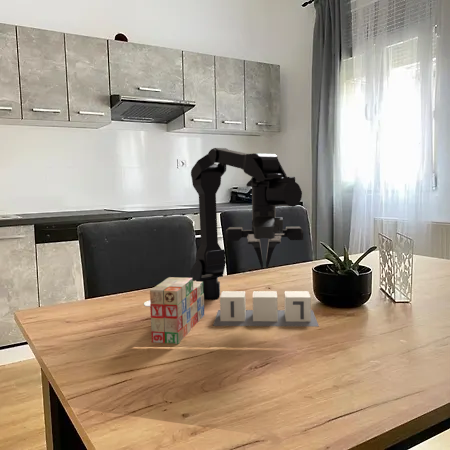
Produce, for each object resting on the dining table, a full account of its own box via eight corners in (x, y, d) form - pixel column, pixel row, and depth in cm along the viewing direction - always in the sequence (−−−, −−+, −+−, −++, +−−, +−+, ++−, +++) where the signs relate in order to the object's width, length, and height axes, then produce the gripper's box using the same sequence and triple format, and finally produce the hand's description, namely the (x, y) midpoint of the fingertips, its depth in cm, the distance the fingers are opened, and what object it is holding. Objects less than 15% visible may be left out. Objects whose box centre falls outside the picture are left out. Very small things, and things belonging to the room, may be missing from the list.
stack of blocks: (181, 315, 118) (180, 269, 117) (204, 316, 117) (203, 269, 115) (151, 344, 97) (149, 289, 96) (178, 346, 96) (177, 290, 95)
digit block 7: (285, 321, 109) (285, 297, 109) (284, 314, 115) (284, 291, 115) (310, 321, 109) (310, 297, 108) (308, 314, 115) (308, 291, 114)
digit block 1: (220, 321, 111) (219, 297, 110) (222, 313, 117) (222, 291, 116) (244, 321, 110) (244, 297, 110) (245, 313, 116) (245, 291, 116)
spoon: (181, 292, 143) (180, 290, 143) (156, 308, 126) (156, 306, 126) (165, 291, 145) (165, 289, 145) (139, 306, 128) (139, 305, 127)
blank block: (253, 321, 110) (252, 297, 110) (253, 313, 116) (253, 291, 115) (277, 321, 110) (277, 297, 109) (276, 314, 116) (276, 291, 115)
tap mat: (212, 327, 107) (212, 325, 107) (218, 311, 120) (218, 309, 120) (318, 327, 105) (318, 326, 105) (312, 311, 118) (312, 310, 118)
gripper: (223, 208, 103) (224, 275, 104) (305, 206, 101) (305, 274, 103) (226, 205, 114) (227, 265, 115) (301, 204, 112) (301, 265, 114)
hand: (264, 268), depth 112 cm, fingers closed
